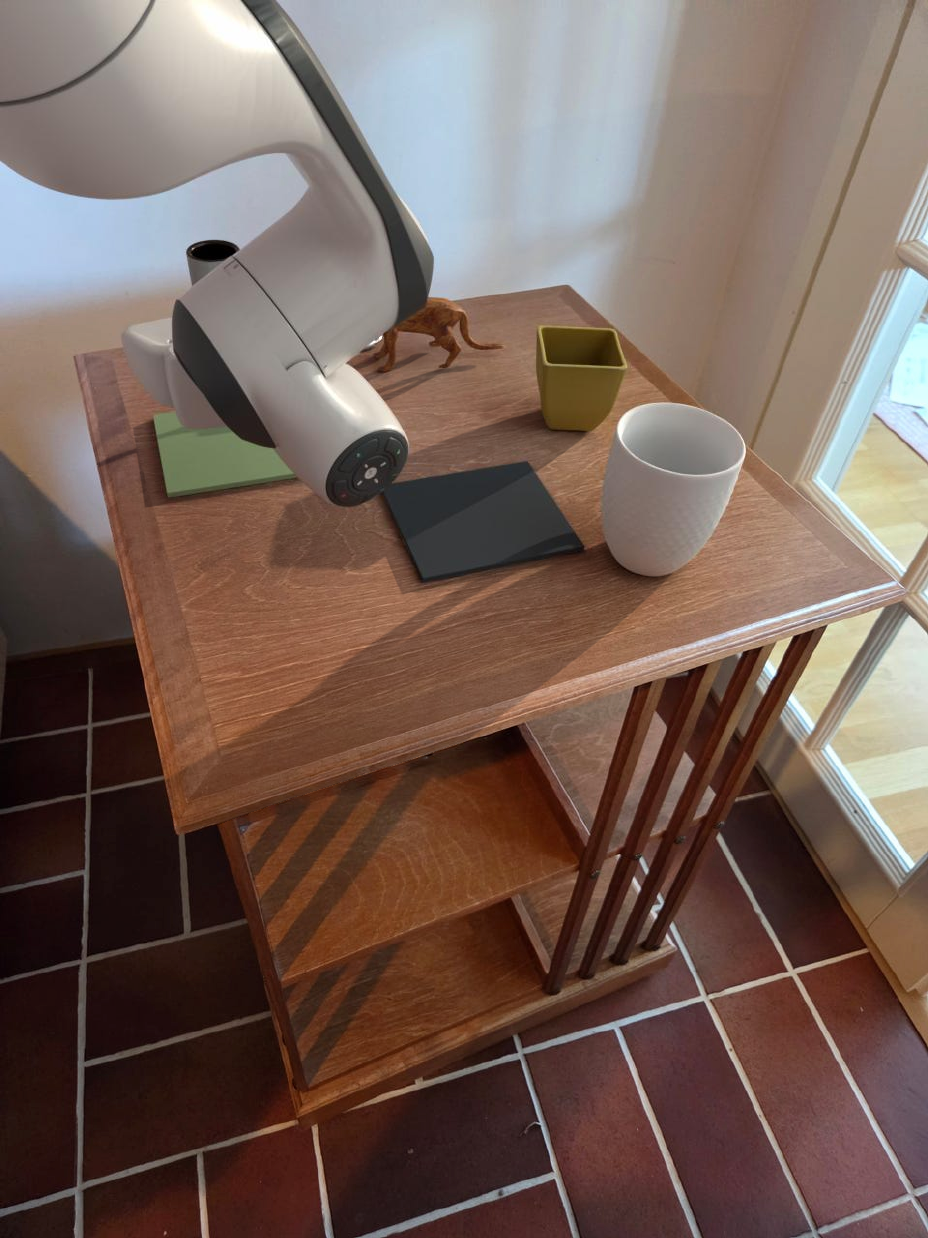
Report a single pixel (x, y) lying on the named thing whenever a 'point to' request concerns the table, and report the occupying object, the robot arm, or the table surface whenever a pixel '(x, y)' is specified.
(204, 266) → the planter
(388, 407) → the robot arm
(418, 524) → the slate mat
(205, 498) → the table surface
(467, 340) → the cat figurine
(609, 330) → the flower pot
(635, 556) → the mug
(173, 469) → the sage mat
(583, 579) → the table surface
